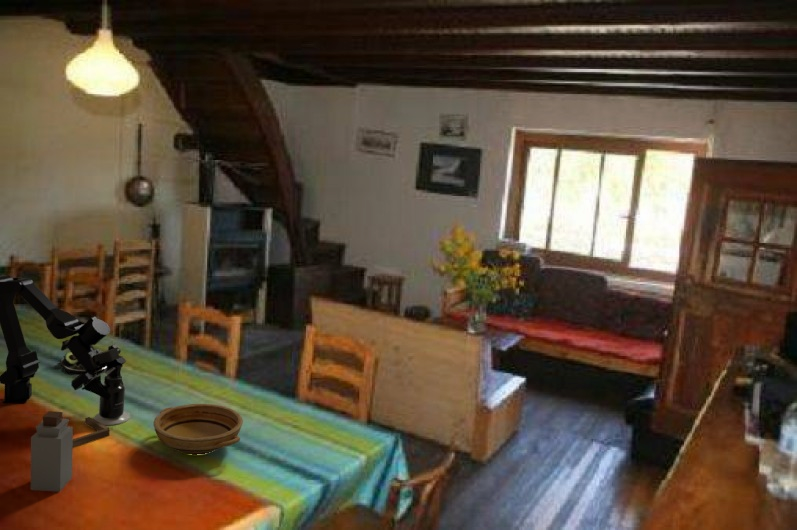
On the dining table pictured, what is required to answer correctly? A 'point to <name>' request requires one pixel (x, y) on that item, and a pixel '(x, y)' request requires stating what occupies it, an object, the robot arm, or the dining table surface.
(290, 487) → the dining table surface
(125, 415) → the coaster
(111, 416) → the supplement bottle
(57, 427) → the perfume bottle
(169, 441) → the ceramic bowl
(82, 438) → the wooden u-shaped frame
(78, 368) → the salad plate
